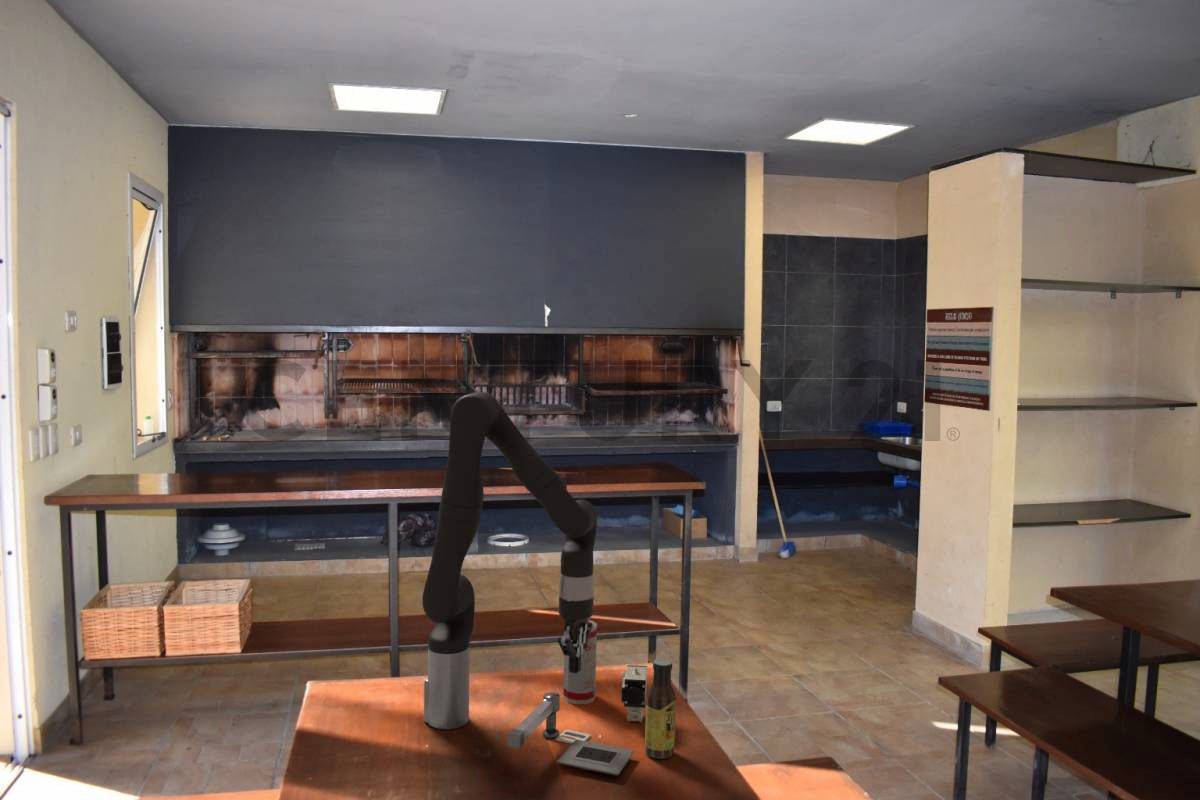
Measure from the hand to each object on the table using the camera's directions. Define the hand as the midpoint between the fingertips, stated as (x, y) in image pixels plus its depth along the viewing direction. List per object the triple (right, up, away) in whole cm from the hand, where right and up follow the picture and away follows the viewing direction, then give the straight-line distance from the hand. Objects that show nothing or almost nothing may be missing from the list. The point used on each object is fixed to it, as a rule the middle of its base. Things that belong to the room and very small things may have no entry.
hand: (574, 671), depth 195 cm
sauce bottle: (+18, -16, -5) cm, 25 cm away
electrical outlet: (+5, -17, -10) cm, 20 cm away
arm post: (-5, -15, +2) cm, 16 cm away
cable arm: (-8, -9, -6) cm, 14 cm away
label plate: (0, -15, +1) cm, 15 cm away
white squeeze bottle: (0, -13, +23) cm, 26 cm away
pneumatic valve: (+13, -15, +12) cm, 23 cm away
